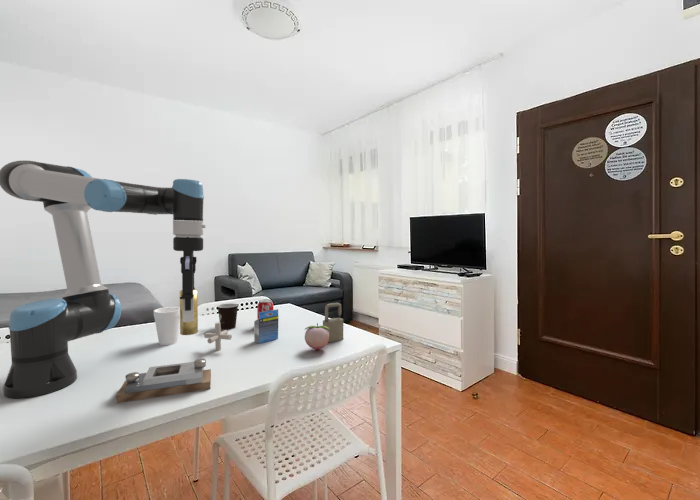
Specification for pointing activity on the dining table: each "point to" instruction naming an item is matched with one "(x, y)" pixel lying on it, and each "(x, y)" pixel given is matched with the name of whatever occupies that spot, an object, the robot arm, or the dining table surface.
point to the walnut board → (164, 390)
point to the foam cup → (167, 324)
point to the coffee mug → (227, 315)
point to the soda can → (264, 306)
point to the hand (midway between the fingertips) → (188, 319)
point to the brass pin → (192, 327)
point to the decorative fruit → (317, 336)
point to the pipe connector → (217, 336)
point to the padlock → (334, 324)
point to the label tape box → (266, 327)
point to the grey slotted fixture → (166, 376)
